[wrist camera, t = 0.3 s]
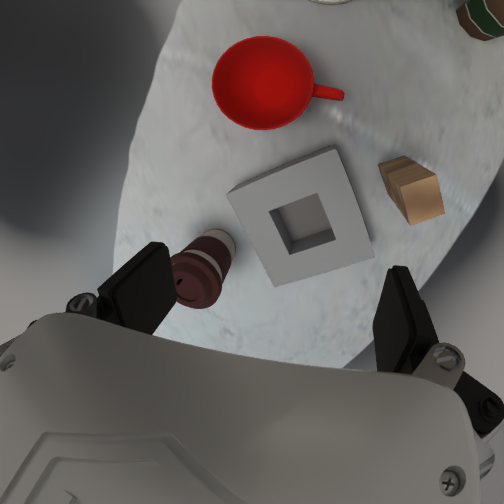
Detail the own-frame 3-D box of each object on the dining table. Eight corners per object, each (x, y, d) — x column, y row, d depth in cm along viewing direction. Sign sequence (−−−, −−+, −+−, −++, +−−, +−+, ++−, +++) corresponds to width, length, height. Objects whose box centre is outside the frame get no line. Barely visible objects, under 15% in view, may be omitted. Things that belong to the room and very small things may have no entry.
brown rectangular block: (377, 164, 39) (399, 187, 27) (404, 155, 37) (436, 174, 25) (387, 193, 41) (410, 225, 29) (413, 184, 39) (444, 213, 27)
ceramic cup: (334, 138, 39) (337, 144, 31) (230, 121, 42) (206, 125, 33) (345, 62, 33) (351, 47, 24) (238, 49, 35) (216, 35, 27)
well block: (236, 185, 47) (225, 194, 42) (334, 144, 40) (335, 148, 35) (279, 270, 53) (274, 287, 48) (370, 241, 46) (374, 257, 41)
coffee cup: (249, 263, 54) (225, 313, 41) (206, 271, 57) (174, 317, 45) (232, 216, 50) (198, 256, 37) (187, 228, 54) (146, 267, 41)
